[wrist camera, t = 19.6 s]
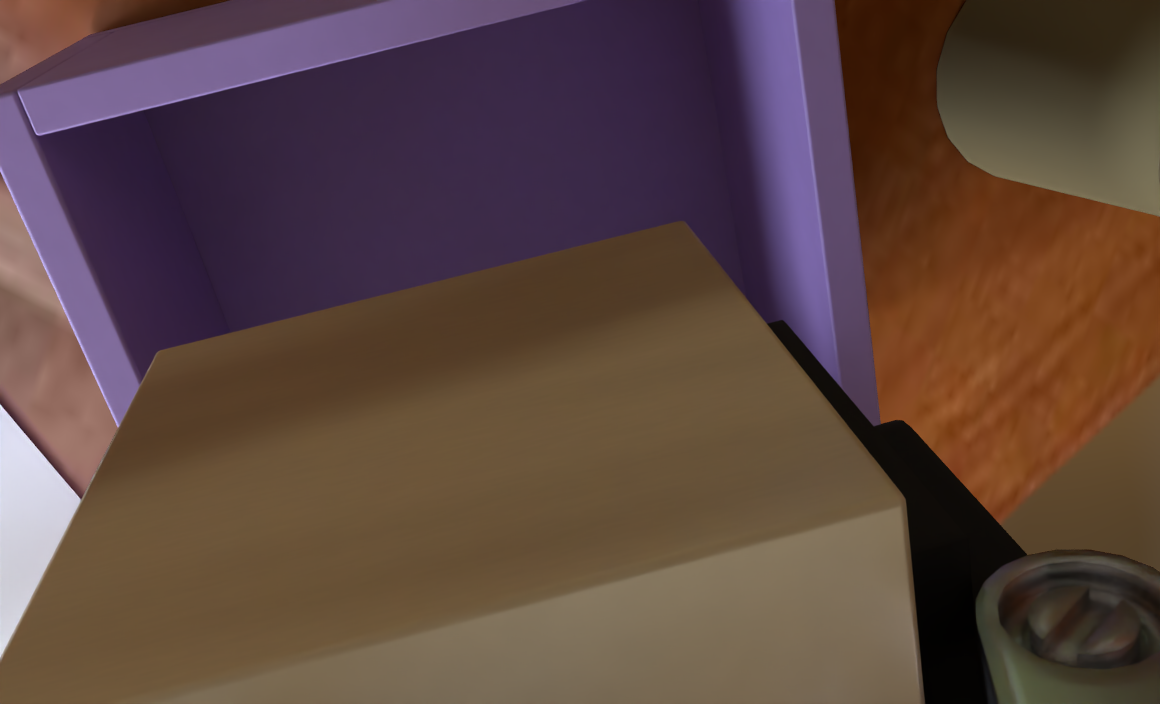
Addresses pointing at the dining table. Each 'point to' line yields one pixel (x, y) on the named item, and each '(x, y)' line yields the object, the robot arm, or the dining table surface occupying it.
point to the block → (485, 509)
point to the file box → (430, 160)
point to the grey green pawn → (1058, 95)
